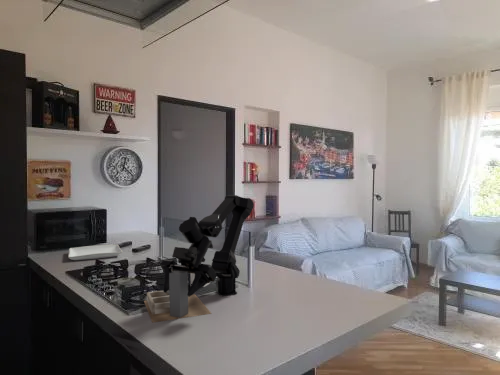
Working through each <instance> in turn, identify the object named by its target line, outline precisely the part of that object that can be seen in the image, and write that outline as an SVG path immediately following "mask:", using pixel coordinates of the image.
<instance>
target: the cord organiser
mask: <svg viewBox="0 0 500 375" xmlns="http://www.w3.org/2000/svg"><path fill="white" fill-rule="evenodd" d="M143 302H144V305H145V307H146V310H147V313H148V315H149V318H150V321H151V322H152V323H158V322H165V321H171V320H179V319H185V318H193V317H197V316H198V317H199V316H205V315H212V312H211V311H210V310H209V308H208V307H207V306H206V305H205V304H204V302H203V301H202V300H201V299H200V298H199V297H198V296H197V295H196V294H195V293H194V294H193V295H191V296H190V297H188V314H186V315H185V316H183V317H181V318H179V317H174V316H170V291H169V290H168V291H167V292H166V293H165V292H164V291H163V290H156V291H148V292H146V300H144V301H143Z"/></svg>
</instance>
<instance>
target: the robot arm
mask: <svg viewBox="0 0 500 375" xmlns="http://www.w3.org/2000/svg"><path fill="white" fill-rule="evenodd" d="M254 206H255V204H254V201H253V200H252V199H251V198H250V197H242V196H239V195H237V194H235V195H234V194H227V195H226V196H225V197H224V200H222V201H221V203H220V204H219V206H218V207H217V208H216V209H214V211H213V212H212V213H211V214H209V215H207V216H205V217H203V218H202V219H201V220H199V221H198V220H197V217H195V216H190V217H189V218H188V219H186V220H184V221H183V222H182V223H180V224H179V226H178V230H179V232H180V234H181V235H182V236H183V238H185V240H186V241H187V243H189V244H190V245H189V247H188V248H187V247H179V246H174V249H173V251H172V252H173V254H172V255H171V257H172V258H174V259H177V262H178V263H179V264H177V263H176V262H175V260H173V259H163V260H162V261H161V263H160V265H159V267H160V268H161V270H162V271H164V282H163V290H162V291H164V292H165V293H166V292H167V291H168V290H169V273H172V272H175V271H185V272H188V274H190V273H194V274H195V278H194V280H193V282H192V285H191V284H190V287H189V288H188V294H187V295H188V297H190V296H191V295H193V294H195V293H197V292H198V290H200V289H201V288H204V287H203V286H204V285H205V284H207V283H210V284H211V282H215V292H216V293H217V294H218V295H219V296H221V297H222V296H223V297H224V296H231V295H237V294H238V292H237V291H236V288H237V287H236V284H237V283H236V282H237V281H236V279H238V277H239V276H240V271H241V270H240V269H239V267H238V266H237V265H236V264H237V259H236V255H235V252H236V249H237V246H238V243H239V238H240V235H241V232H242V228H243V226H244V222H245V220H246V219H248V218H249V217H250V215H251V214H252V211H253V209H254ZM230 214H231V215H232V216H231V220H230V223H229V226H228V230H227V232H226V235H225V238H224V241H223V245H222V247H221V249H220V250H215V251H214V254H213V258H212V259H211V261H212V262H211V264H206V263H205V261H206V258H205V256H206V254H207V252H208V250H209V249H213V248H214V245H213V242H212V240H210V239H209V238H217V237H219V234H220V233H221V232H222V229H223V223H224V221H225V220H226V219H227V218H228V216H230ZM216 278H217V279H216ZM215 280H216V281H215Z"/></svg>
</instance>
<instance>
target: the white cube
mask: <svg viewBox="0 0 500 375" xmlns="http://www.w3.org/2000/svg"><path fill="white" fill-rule="evenodd" d="M189 274H190V285H191V284H192V282H193V280H194V278H195V274H194V273H189ZM210 284H211V282H210V283H207V284H205V285H204V286H203V287H202V288H205V287H206V286H208V285H210Z"/></svg>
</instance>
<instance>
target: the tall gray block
mask: <svg viewBox="0 0 500 375" xmlns="http://www.w3.org/2000/svg"><path fill="white" fill-rule="evenodd" d="M169 291H170V316H174V317H179V318H180V319H182V318H181V317H183V316H185V315H186V314H188V295H187V294H188V291H189V273H188V272H185V271H175V272H172V273H169Z"/></svg>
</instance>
